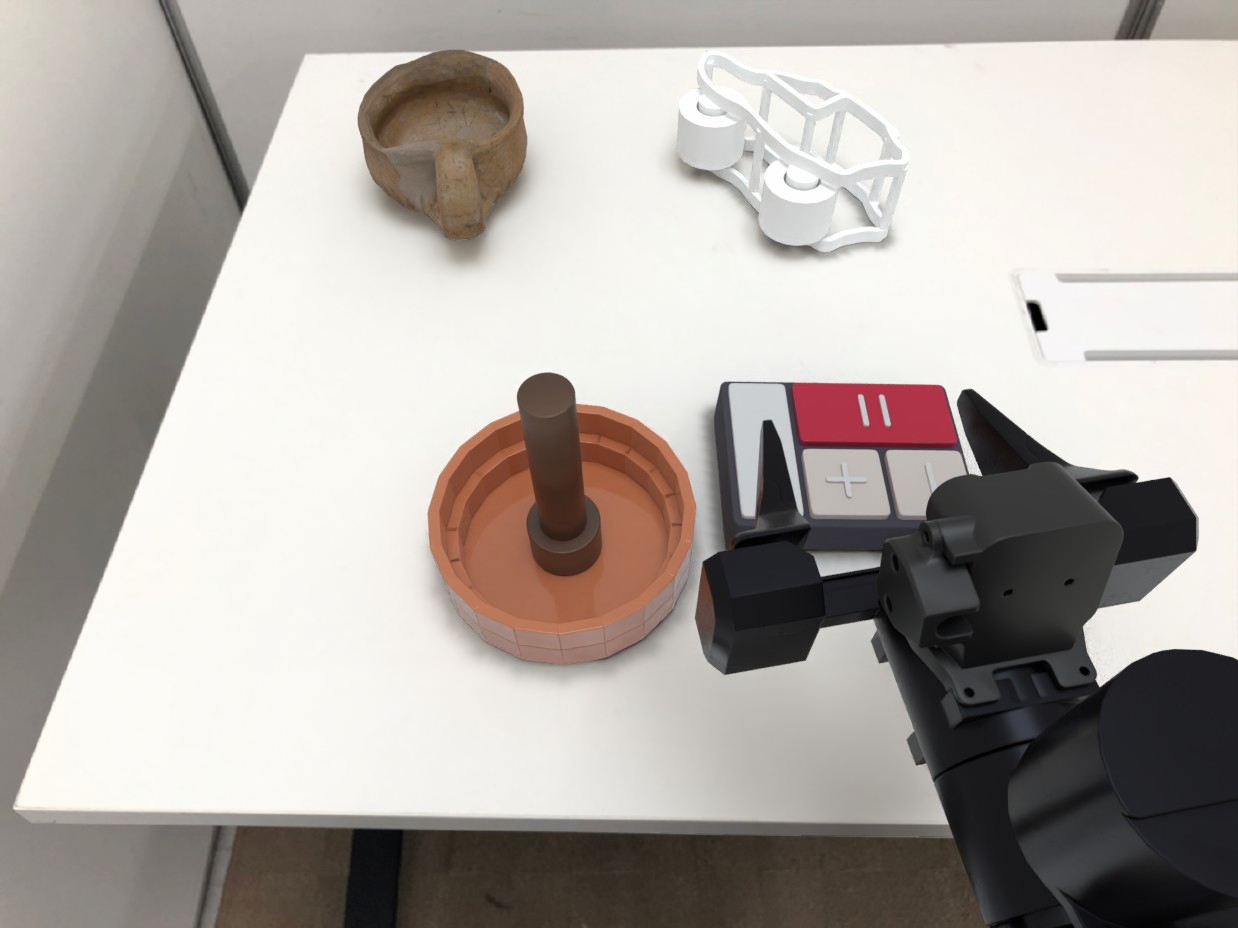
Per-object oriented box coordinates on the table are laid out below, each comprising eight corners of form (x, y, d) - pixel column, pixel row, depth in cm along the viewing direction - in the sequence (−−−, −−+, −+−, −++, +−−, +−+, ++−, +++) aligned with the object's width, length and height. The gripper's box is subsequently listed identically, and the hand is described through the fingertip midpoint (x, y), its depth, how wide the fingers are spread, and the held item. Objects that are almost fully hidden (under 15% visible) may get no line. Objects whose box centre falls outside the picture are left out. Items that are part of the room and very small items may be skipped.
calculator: (990, 521, 50) (735, 519, 50) (963, 556, 54) (725, 554, 54) (949, 376, 57) (721, 372, 56) (927, 415, 60) (712, 412, 60)
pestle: (607, 570, 53) (598, 423, 40) (535, 582, 52) (504, 438, 40) (596, 509, 55) (584, 353, 42) (527, 520, 55) (495, 366, 42)
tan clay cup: (597, 214, 69) (557, 118, 61) (448, 304, 69) (387, 222, 61) (511, 95, 78) (466, -3, 69) (379, 176, 78) (317, 88, 69)
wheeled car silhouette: (652, 150, 76) (654, 72, 70) (751, 107, 79) (761, 29, 73) (800, 284, 67) (817, 208, 60) (905, 229, 70) (931, 151, 64)
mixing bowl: (715, 642, 50) (723, 607, 46) (452, 688, 49) (435, 655, 45) (663, 433, 59) (665, 387, 55) (437, 467, 58) (422, 422, 54)
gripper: (1436, 619, 24) (1148, 242, 33) (788, 740, 22) (665, 311, 31) (1214, 738, 33) (1035, 419, 42) (743, 829, 32) (659, 479, 40)
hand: (865, 409), depth 39 cm, fingers open, 9 cm apart
